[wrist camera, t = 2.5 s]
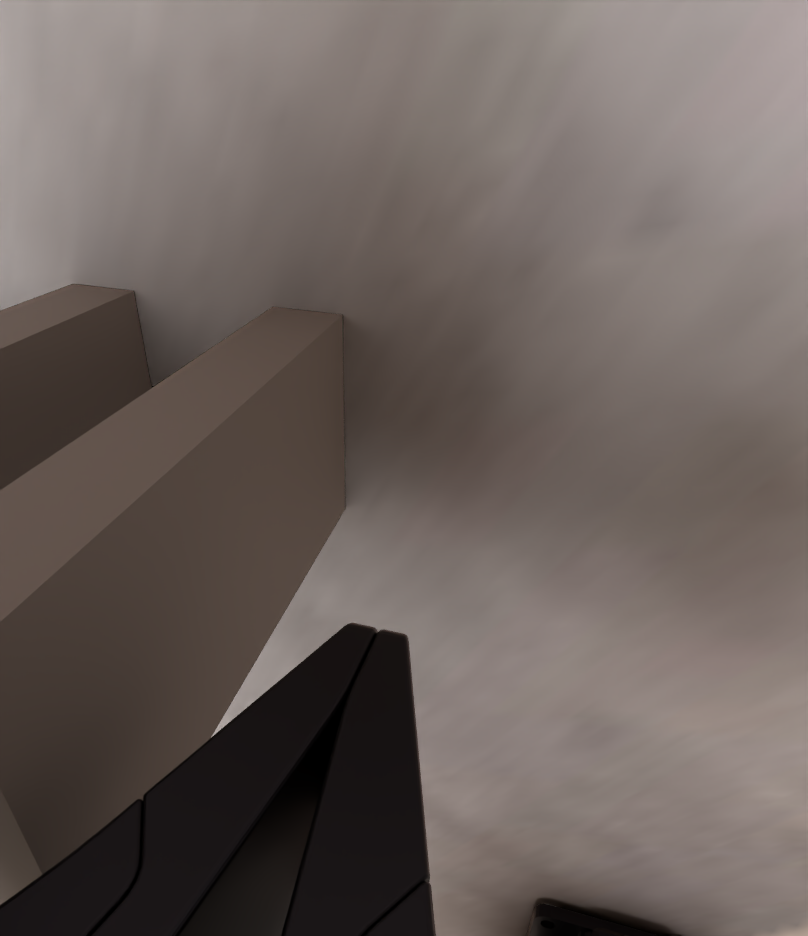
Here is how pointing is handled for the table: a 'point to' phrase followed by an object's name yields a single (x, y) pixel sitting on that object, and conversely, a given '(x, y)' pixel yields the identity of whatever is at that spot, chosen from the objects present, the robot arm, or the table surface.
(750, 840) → the table surface
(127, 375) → the domino
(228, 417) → the domino
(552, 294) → the table surface
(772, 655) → the table surface
